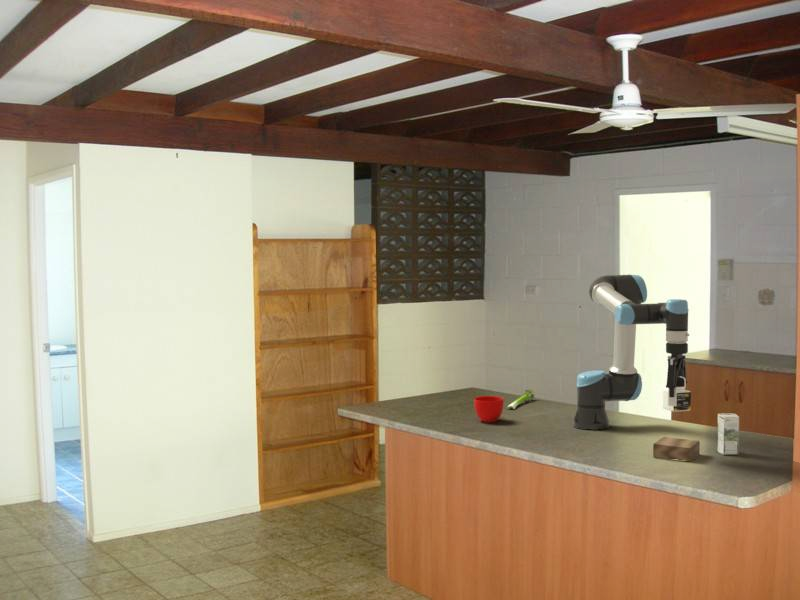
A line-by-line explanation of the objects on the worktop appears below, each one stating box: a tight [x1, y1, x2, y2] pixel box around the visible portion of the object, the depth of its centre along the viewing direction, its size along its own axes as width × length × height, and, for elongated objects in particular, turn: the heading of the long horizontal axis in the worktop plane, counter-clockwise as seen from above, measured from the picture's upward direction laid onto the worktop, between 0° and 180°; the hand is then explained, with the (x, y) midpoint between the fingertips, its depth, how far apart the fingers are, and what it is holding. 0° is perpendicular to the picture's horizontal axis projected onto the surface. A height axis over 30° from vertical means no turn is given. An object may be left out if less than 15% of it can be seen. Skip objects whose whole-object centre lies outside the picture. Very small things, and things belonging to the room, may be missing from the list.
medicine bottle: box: [662, 376, 692, 413], centre depth 308 cm, size 7×7×12 cm
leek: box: [506, 389, 536, 410], centre depth 414 cm, size 6×7×30 cm
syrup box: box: [716, 412, 740, 456], centre depth 312 cm, size 6×6×14 cm
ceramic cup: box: [473, 395, 505, 423], centre depth 378 cm, size 13×17×10 cm
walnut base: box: [652, 436, 701, 462], centre depth 309 cm, size 13×13×5 cm
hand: (676, 403), depth 308 cm, fingers closed on medicine bottle, 10 cm apart
